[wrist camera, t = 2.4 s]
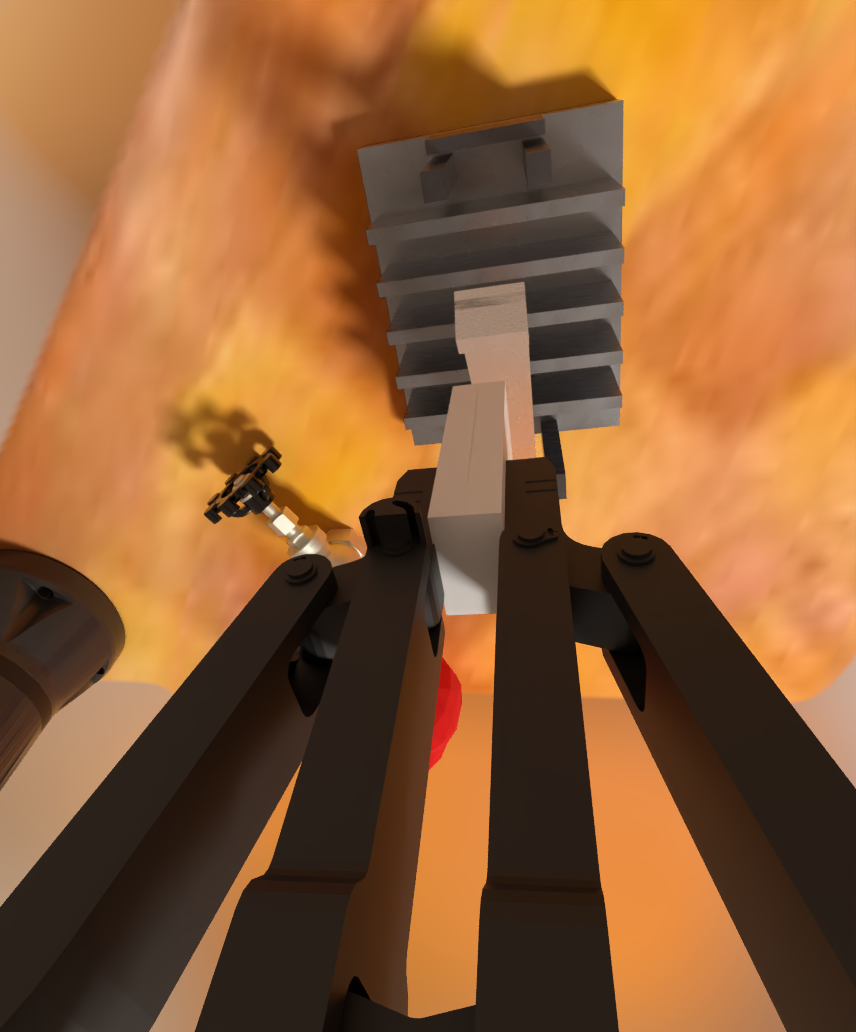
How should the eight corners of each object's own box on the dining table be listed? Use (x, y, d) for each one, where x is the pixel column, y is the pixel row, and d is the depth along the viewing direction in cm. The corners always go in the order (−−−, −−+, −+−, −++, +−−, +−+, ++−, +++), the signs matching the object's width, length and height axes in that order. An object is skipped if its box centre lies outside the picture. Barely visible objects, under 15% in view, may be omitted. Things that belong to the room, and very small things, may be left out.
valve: (394, 543, 48) (285, 431, 44) (380, 601, 43) (254, 480, 38) (333, 579, 51) (224, 477, 46) (313, 638, 46) (188, 529, 41)
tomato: (478, 696, 58) (474, 801, 49) (363, 709, 60) (341, 810, 52) (444, 603, 51) (433, 705, 43) (317, 621, 54) (283, 721, 46)
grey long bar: (540, 473, 36) (543, 508, 35) (492, 477, 37) (493, 511, 36) (529, 277, 21) (534, 330, 20) (448, 289, 21) (449, 340, 21)
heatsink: (614, 422, 41) (637, 492, 34) (420, 441, 43) (404, 511, 36) (616, 99, 31) (650, 104, 24) (363, 146, 33) (327, 163, 26)
